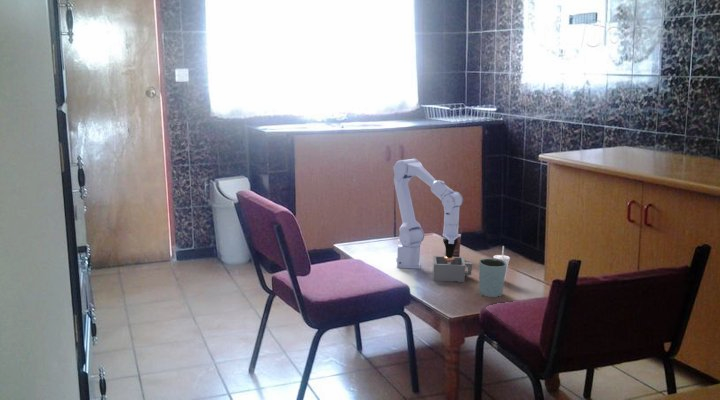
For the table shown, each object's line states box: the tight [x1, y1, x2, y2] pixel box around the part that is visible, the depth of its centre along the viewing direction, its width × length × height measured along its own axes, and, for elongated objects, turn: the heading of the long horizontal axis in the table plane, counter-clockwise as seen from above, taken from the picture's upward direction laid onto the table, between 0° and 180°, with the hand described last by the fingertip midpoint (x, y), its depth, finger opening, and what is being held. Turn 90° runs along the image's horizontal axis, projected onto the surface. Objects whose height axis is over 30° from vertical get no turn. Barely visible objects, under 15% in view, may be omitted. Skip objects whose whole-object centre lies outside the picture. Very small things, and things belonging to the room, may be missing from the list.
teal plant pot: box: [478, 258, 507, 298], centre depth 268 cm, size 10×10×12 cm
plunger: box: [444, 255, 454, 264], centre depth 287 cm, size 9×9×5 cm
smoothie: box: [492, 245, 511, 283], centre depth 283 cm, size 6×6×14 cm
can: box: [444, 225, 463, 257], centre depth 314 cm, size 6×6×14 cm
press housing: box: [432, 255, 473, 283], centre depth 287 cm, size 15×12×6 cm
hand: (449, 257), depth 286 cm, fingers closed, pressing on plunger
